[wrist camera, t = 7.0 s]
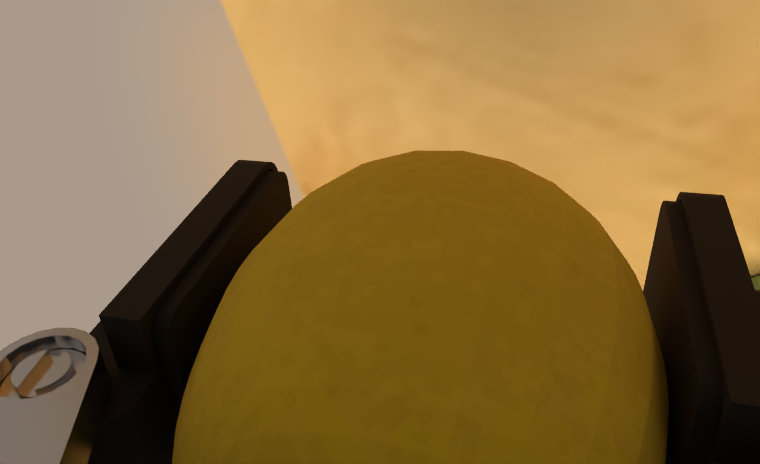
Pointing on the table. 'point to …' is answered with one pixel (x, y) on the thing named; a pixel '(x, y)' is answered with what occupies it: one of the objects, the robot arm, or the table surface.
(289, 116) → the table surface
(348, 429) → the lemon
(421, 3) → the table surface
